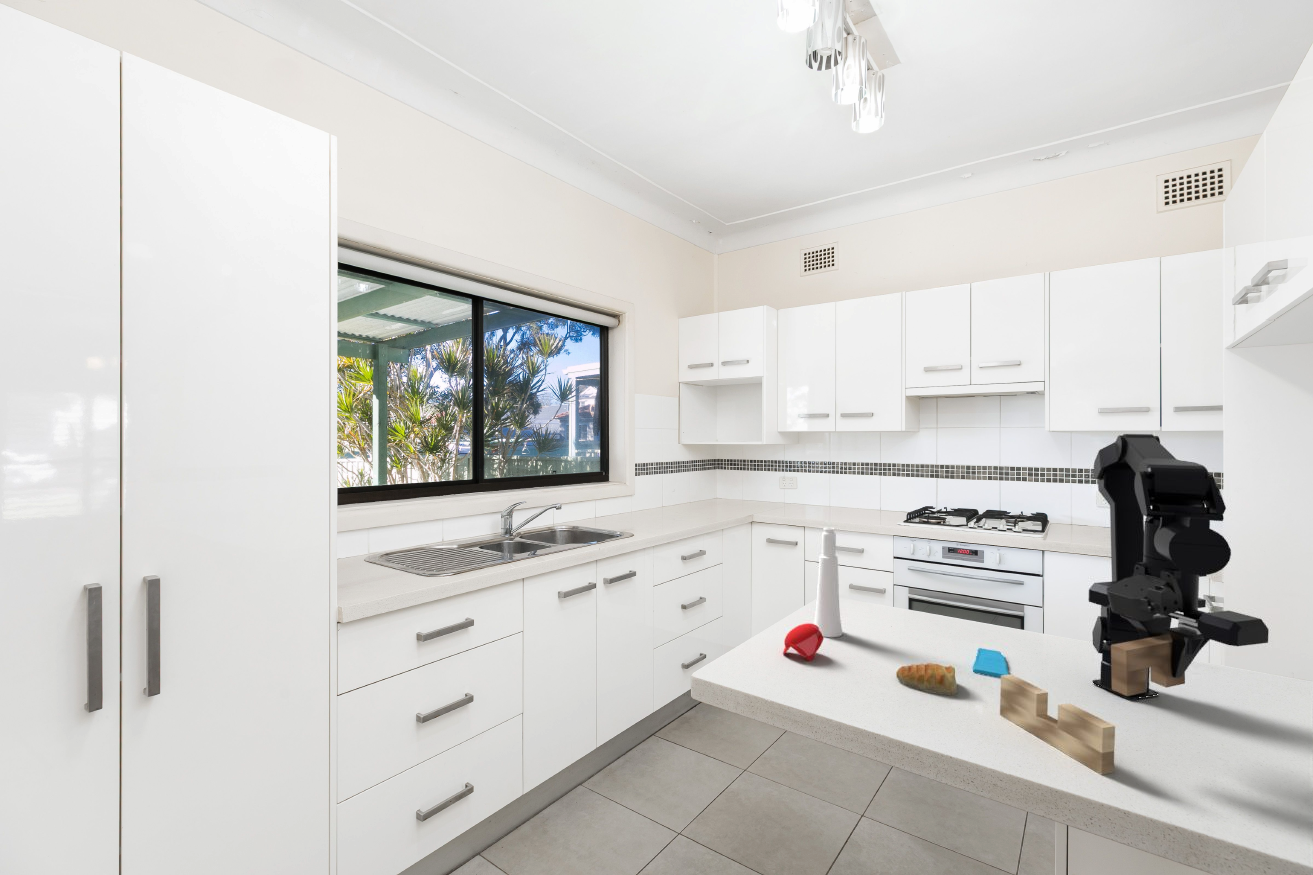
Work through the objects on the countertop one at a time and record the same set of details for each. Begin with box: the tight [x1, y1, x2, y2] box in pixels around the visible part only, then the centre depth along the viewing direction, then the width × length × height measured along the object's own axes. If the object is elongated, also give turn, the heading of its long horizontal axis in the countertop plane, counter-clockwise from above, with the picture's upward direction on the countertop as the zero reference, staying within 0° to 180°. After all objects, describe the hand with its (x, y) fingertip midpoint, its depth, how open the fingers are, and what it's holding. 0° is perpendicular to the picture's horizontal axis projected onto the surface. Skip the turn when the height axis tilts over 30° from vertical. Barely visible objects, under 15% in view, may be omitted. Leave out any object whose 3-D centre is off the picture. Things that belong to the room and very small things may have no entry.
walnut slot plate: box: [1111, 634, 1186, 696], centre depth 80 cm, size 10×2×6 cm, turn 104°
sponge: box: [972, 647, 1010, 679], centre depth 111 cm, size 2×12×6 cm
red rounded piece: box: [782, 622, 824, 661], centre depth 114 cm, size 8×6×6 cm
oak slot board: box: [999, 673, 1116, 776], centre depth 84 cm, size 16×2×6 cm, turn 14°
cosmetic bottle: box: [813, 526, 843, 638], centre depth 127 cm, size 6×6×22 cm
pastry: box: [895, 662, 958, 696], centre depth 102 cm, size 9×7×4 cm
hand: (1167, 673), depth 81 cm, fingers closed on walnut slot plate, 2 cm apart
